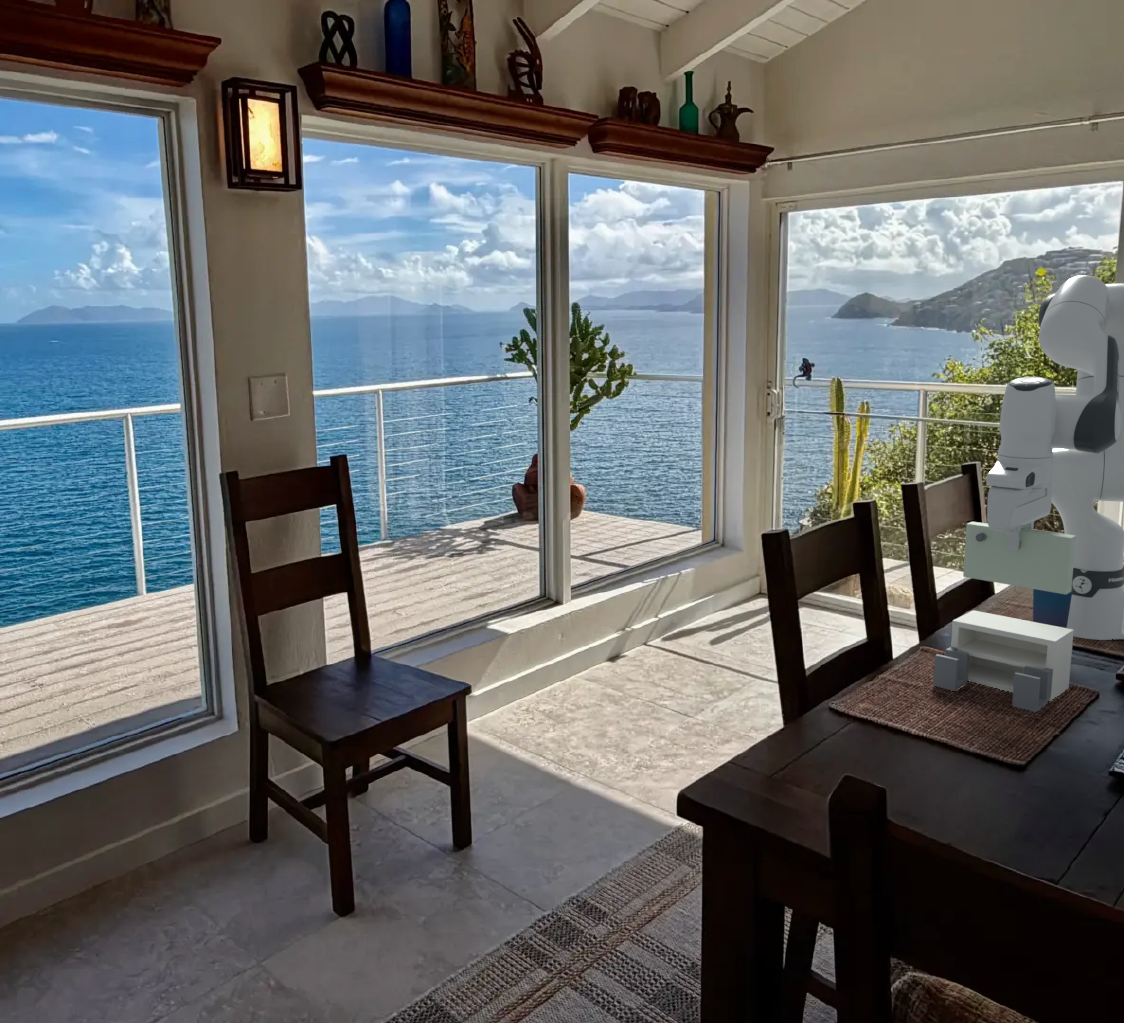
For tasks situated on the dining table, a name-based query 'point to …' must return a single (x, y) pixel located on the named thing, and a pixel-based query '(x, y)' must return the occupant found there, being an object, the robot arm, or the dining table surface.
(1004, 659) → the cabinet
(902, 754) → the dining table surface
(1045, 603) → the cup
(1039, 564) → the door
